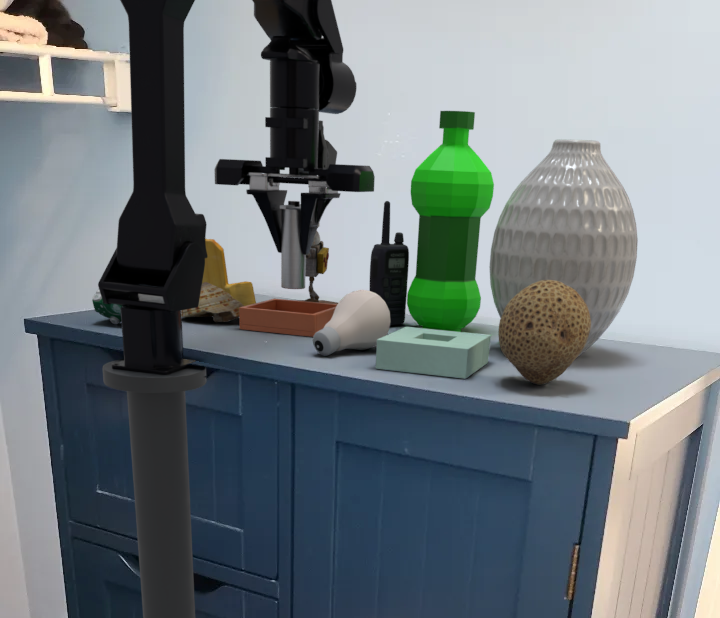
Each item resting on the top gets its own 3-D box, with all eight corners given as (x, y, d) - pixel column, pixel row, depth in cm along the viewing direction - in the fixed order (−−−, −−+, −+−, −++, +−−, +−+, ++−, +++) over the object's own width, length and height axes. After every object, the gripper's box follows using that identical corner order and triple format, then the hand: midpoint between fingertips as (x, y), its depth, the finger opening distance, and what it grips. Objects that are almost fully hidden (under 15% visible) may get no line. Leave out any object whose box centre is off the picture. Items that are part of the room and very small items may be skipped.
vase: (646, 356, 112) (682, 144, 102) (570, 372, 102) (601, 138, 92) (534, 336, 122) (556, 141, 112) (453, 349, 112) (470, 135, 101)
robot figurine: (292, 304, 139) (293, 215, 134) (354, 309, 138) (357, 219, 132) (271, 315, 130) (271, 219, 124) (337, 319, 128) (340, 223, 123)
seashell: (223, 309, 118) (177, 276, 120) (211, 350, 121) (166, 317, 123) (264, 302, 124) (219, 272, 126) (251, 341, 127) (208, 311, 129)
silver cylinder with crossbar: (314, 286, 121) (315, 201, 117) (293, 291, 116) (294, 202, 111) (292, 284, 122) (293, 199, 118) (271, 289, 117) (271, 201, 112)
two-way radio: (378, 328, 123) (384, 201, 117) (357, 323, 126) (361, 199, 120) (410, 325, 127) (417, 201, 120) (389, 320, 130) (395, 199, 123)
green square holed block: (465, 379, 97) (468, 348, 95) (375, 368, 100) (376, 339, 98) (488, 362, 105) (490, 334, 104) (404, 353, 108) (405, 326, 106)
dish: (314, 337, 115) (314, 314, 114) (239, 329, 118) (238, 307, 117) (344, 325, 124) (345, 304, 123) (274, 318, 127) (274, 298, 126)
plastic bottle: (495, 330, 125) (517, 114, 114) (449, 339, 118) (467, 109, 106) (434, 321, 131) (449, 114, 119) (386, 328, 123) (397, 108, 112)
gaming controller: (104, 334, 121) (80, 303, 116) (114, 309, 122) (91, 278, 117) (166, 342, 118) (144, 311, 113) (176, 316, 119) (155, 284, 114)
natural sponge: (570, 399, 90) (586, 288, 86) (480, 388, 93) (491, 280, 88) (588, 382, 98) (603, 279, 93) (505, 372, 101) (515, 272, 96)
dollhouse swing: (258, 304, 138) (258, 236, 134) (225, 312, 130) (223, 240, 126) (197, 298, 142) (194, 231, 137) (161, 305, 134) (157, 234, 130)
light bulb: (306, 376, 108) (367, 338, 114) (348, 374, 103) (408, 335, 109) (287, 319, 104) (351, 283, 110) (329, 314, 100) (393, 278, 106)
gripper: (392, 115, 114) (385, 254, 121) (253, 111, 120) (254, 244, 127) (360, 109, 105) (355, 260, 112) (210, 105, 110) (214, 249, 117)
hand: (293, 253), depth 117 cm, fingers closed on silver cylinder with crossbar, 3 cm apart
